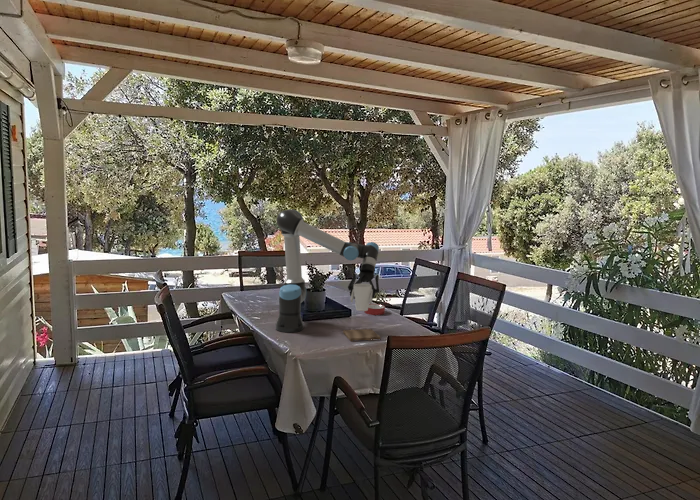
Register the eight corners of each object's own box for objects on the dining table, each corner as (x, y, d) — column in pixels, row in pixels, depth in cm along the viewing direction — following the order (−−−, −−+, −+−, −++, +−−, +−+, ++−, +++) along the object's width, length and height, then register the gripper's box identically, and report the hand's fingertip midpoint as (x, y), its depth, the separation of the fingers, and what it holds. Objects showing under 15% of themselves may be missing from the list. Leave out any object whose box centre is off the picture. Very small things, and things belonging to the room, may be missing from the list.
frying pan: (341, 306, 324) (342, 296, 324) (356, 303, 332) (357, 294, 332) (373, 316, 300) (374, 306, 299) (389, 313, 308) (389, 303, 307)
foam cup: (369, 312, 249) (369, 287, 248) (351, 311, 251) (352, 286, 250) (372, 308, 259) (372, 284, 257) (355, 307, 260) (355, 283, 259)
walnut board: (350, 341, 247) (350, 338, 247) (343, 333, 261) (343, 330, 261) (380, 339, 251) (380, 337, 251) (371, 331, 266) (371, 329, 266)
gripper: (388, 272, 265) (382, 307, 251) (349, 270, 270) (341, 304, 257) (387, 264, 259) (381, 299, 246) (347, 261, 265) (339, 296, 251)
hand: (360, 301), depth 251 cm, fingers closed on foam cup, 9 cm apart
